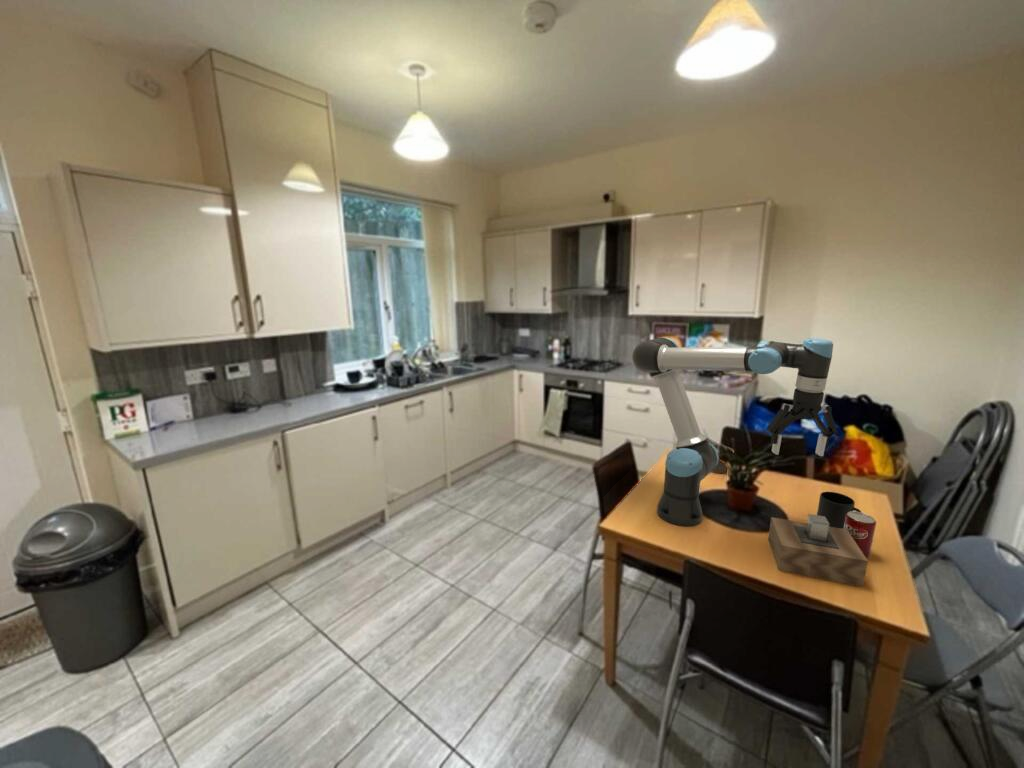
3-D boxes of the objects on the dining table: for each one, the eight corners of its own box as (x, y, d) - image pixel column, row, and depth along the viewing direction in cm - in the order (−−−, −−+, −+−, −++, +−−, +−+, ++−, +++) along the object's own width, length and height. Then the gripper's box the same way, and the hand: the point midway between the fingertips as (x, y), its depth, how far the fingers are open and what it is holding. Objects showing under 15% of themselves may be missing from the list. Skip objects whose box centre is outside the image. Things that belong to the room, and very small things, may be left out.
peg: (808, 545, 124) (812, 521, 123) (804, 537, 128) (808, 514, 126) (824, 548, 123) (829, 523, 121) (820, 540, 127) (824, 516, 125)
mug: (859, 535, 139) (864, 510, 137) (815, 523, 147) (819, 499, 145) (859, 522, 147) (864, 498, 145) (817, 511, 154) (821, 488, 152)
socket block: (778, 569, 123) (782, 544, 121) (768, 539, 138) (771, 516, 136) (862, 586, 116) (868, 560, 114) (842, 552, 131) (847, 528, 129)
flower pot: (710, 462, 196) (712, 442, 194) (736, 470, 188) (738, 449, 186) (698, 469, 189) (700, 448, 187) (724, 478, 181) (726, 456, 178)
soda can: (857, 561, 127) (864, 525, 124) (833, 546, 134) (840, 512, 131) (875, 556, 129) (883, 521, 126) (850, 543, 135) (857, 509, 133)
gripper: (773, 391, 127) (762, 457, 133) (861, 394, 126) (846, 460, 131) (761, 385, 134) (751, 447, 140) (843, 387, 133) (829, 450, 138)
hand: (796, 453), depth 135 cm, fingers open, 13 cm apart
